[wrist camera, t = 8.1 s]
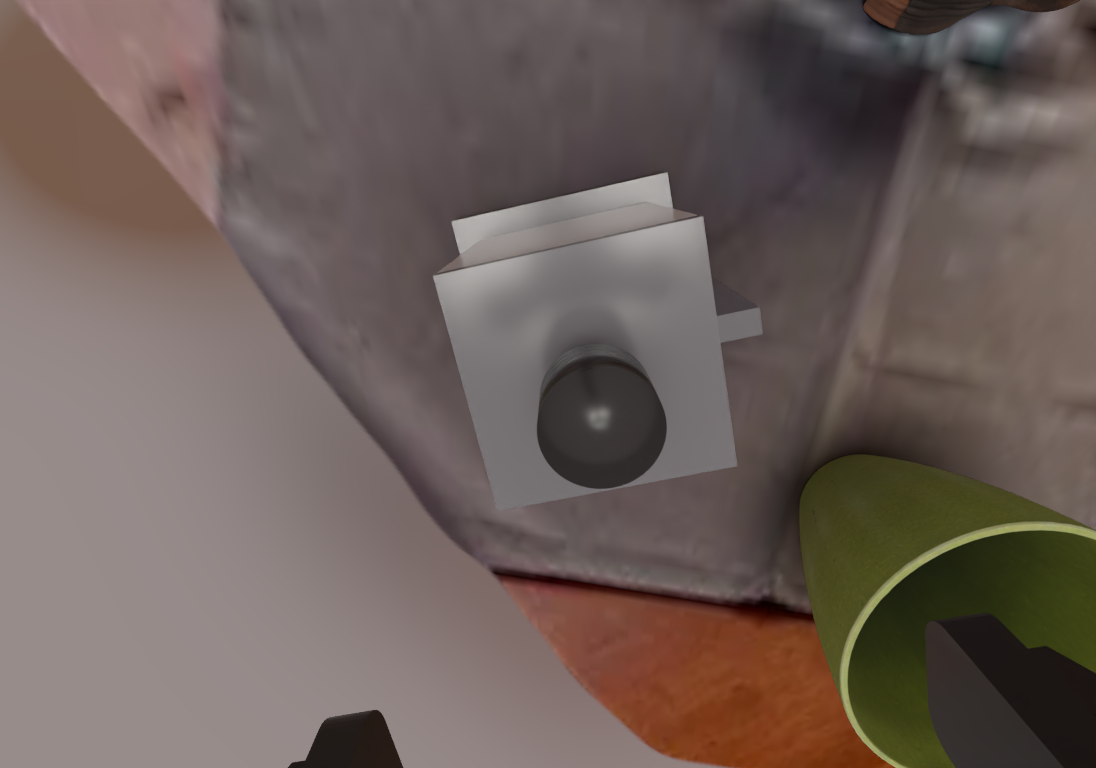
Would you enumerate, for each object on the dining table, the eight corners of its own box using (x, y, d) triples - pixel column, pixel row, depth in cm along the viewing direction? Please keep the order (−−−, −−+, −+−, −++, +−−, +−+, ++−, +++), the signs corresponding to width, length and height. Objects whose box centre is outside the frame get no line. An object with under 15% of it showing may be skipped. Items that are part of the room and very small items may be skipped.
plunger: (499, 257, 36) (441, 333, 18) (635, 227, 36) (713, 275, 18) (530, 385, 39) (505, 563, 21) (658, 359, 38) (747, 519, 20)
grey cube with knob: (455, 219, 39) (386, 247, 23) (679, 168, 38) (765, 161, 22) (504, 411, 43) (473, 544, 27) (709, 370, 41) (799, 485, 26)
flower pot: (731, 423, 43) (827, 559, 27) (956, 378, 41) (1187, 494, 26) (758, 603, 47) (853, 805, 32) (961, 567, 46) (1161, 760, 31)
